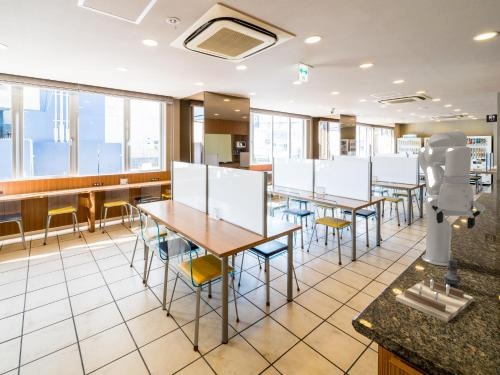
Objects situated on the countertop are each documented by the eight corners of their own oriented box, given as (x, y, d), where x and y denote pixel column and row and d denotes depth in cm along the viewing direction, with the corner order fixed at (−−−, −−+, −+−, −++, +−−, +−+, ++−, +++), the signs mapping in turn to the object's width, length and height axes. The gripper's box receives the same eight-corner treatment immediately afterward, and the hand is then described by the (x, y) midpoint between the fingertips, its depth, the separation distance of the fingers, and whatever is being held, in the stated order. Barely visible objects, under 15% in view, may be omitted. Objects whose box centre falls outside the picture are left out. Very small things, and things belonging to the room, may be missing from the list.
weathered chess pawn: (438, 283, 107) (439, 254, 105) (448, 280, 109) (450, 252, 107) (454, 290, 101) (455, 259, 100) (464, 287, 103) (466, 257, 102)
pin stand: (423, 283, 107) (423, 270, 106) (472, 301, 94) (473, 286, 93) (395, 300, 96) (395, 285, 96) (447, 322, 83) (448, 305, 82)
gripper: (426, 180, 105) (424, 222, 107) (482, 182, 91) (479, 232, 93) (435, 178, 109) (433, 219, 111) (490, 180, 95) (487, 228, 97)
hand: (454, 225), depth 102 cm, fingers open, 9 cm apart
